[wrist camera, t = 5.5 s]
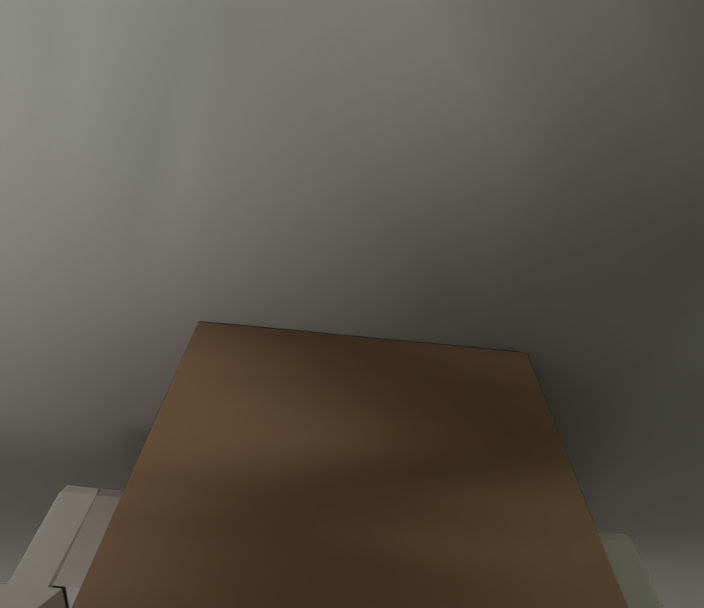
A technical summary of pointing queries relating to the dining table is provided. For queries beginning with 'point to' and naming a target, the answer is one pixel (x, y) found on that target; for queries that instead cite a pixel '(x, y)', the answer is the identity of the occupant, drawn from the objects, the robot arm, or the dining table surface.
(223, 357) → the walnut cube
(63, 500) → the robot arm
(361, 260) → the dining table surface
